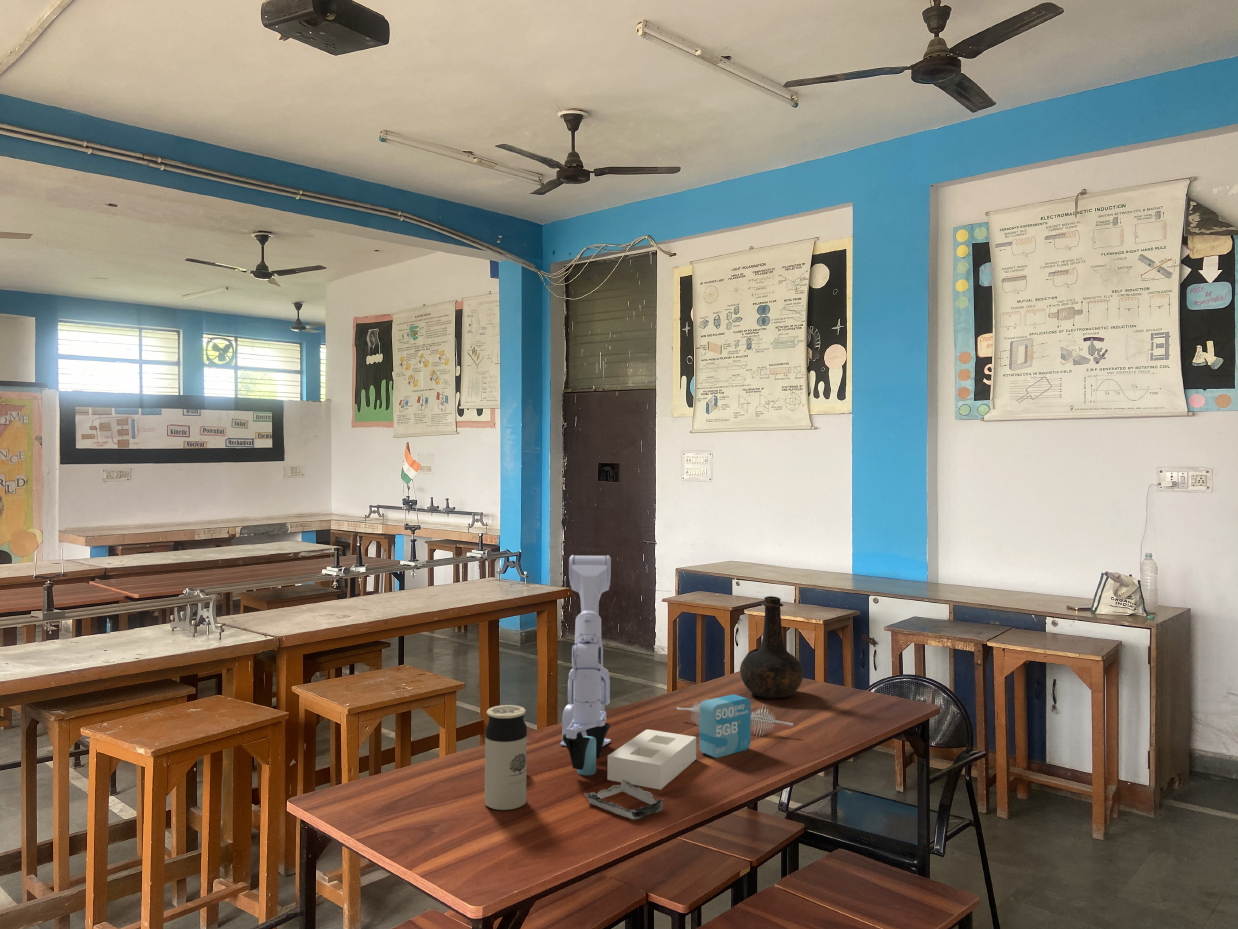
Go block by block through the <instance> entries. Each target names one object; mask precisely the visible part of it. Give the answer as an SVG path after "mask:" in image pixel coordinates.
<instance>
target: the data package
mask: <svg viewBox="0 0 1238 929" xmlns="http://www.w3.org/2000/svg"><path fill="white" fill-rule="evenodd" d="M702 701H703V702H702ZM702 701H701V703H700V704H701V706H700V707H699V708H700V710H699V711H700V716H699V718H700V719H699V721H700V723H699V751H700V752H701V753H703V754H705V755H707V756H710V757H712V758H714V759H719V758H723V757H726V756H729V755H733V754H736V753H741V752H745V751H747V750H748V749H749V748H750V745H751V736H752V735H751V734H752V732H751V730H752V728H751V727H752V720H751V715H752V708H751V707H752V702H751V700H750V699H749V698H746V697H744V696H741V695H738V694H733V693H732V694H728V695H724V696H720V697H719V696H718V697H716V698H710V699H706V700H705V699H704V700H702Z"/></svg>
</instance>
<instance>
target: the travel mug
mask: <svg viewBox="0 0 1238 929" xmlns="http://www.w3.org/2000/svg"><path fill="white" fill-rule="evenodd" d="M526 712H527V710H526V709H525V708H524V707H523V706H519V705H515V704H504V705H503V704H502V705H495V706H492V707H489V708H488V709H487V710H486V715H488V716H487V717H488V721H487V724H486V725H485V729H484V730H485V731H484V733H485V734H484V739H485V740H484V804H485V806H486V807H488V808H491V809H492V810H496V811H513V810H516V809H519V808H521V807H522V806H524V805H525V804H526V802H527V767H528V766H527V764H528V763H527V756H528V755H527V754H528V752H527V751H528V750H527V748H528V746H527V743H528V741H527V739H528V738H527V737H528V736H527V735H528V732H527V731H528V726H527V724H526V722H525V720H524V716H525V714H526Z"/></svg>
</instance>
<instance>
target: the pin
mask: <svg viewBox="0 0 1238 929" xmlns="http://www.w3.org/2000/svg"><path fill="white" fill-rule="evenodd" d="M583 737H587V738H590V740H589V742H588V745H587V748H586V753H585V761H584V767H583V769H582V770H579V769H576V772H577V774H578V775H581V776H593V775H595V774H596V773H597V758H596V738H594V737H591V736H583Z"/></svg>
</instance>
